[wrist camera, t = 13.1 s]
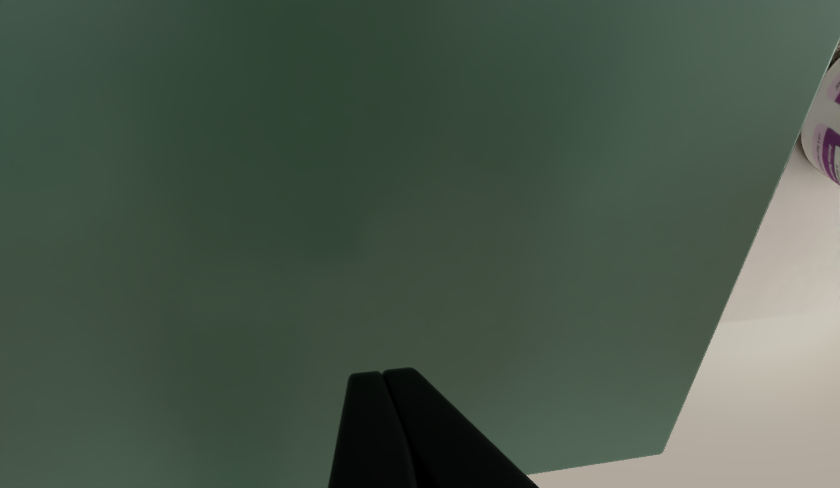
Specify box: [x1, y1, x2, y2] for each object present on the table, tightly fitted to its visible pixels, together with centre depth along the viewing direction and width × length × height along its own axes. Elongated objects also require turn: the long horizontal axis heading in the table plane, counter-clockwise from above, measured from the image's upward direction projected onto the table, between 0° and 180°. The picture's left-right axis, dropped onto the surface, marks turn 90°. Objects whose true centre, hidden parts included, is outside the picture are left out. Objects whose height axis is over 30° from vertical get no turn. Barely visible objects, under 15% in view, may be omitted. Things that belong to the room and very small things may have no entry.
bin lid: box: [0, 0, 840, 488], centre depth 10 cm, size 14×14×1 cm
